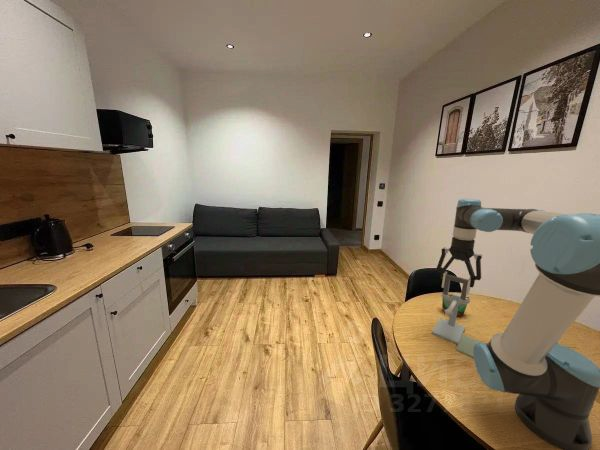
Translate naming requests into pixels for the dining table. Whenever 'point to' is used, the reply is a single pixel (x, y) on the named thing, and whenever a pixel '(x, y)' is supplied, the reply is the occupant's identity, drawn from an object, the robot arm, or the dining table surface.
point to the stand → (450, 323)
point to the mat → (467, 345)
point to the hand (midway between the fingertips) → (455, 289)
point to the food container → (461, 307)
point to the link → (456, 279)
